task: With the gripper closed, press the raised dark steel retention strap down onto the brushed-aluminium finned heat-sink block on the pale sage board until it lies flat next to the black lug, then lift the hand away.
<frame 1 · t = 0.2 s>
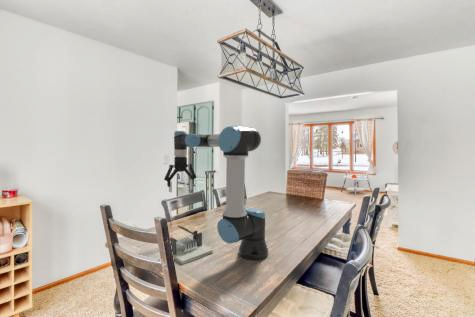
hand: (180, 190, 148), 28 cm above the table, fingers open, 13 cm apart
board: (186, 251, 126), on the table
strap: (189, 231, 127), point 10 cm above the table, hinge at 35.0°
heatsink: (186, 244, 126), on the board, point 4 cm above the table
mounts: (186, 241, 126), on the board, point 5 cm above the table
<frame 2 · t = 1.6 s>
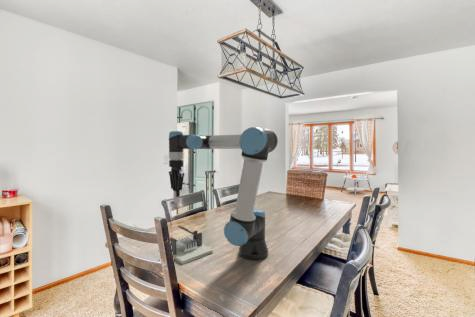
hand: (176, 202, 132), 24 cm above the table, fingers closed
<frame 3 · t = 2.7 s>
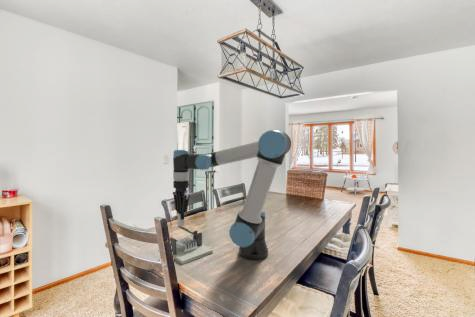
hand: (181, 225, 123), 15 cm above the table, fingers closed
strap: (189, 231, 127), point 10 cm above the table, hinge at 34.9°, touching gripper
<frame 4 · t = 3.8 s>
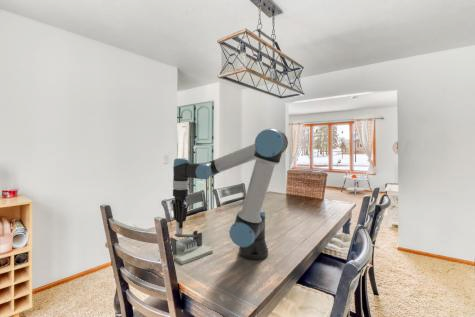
hand: (179, 233, 123), 10 cm above the table, fingers closed
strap: (187, 235, 126), point 8 cm above the table, hinge at 15.5°, touching gripper
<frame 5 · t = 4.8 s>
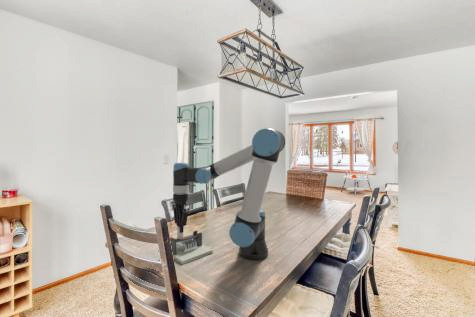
hand: (180, 238, 123), 8 cm above the table, fingers closed
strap: (187, 238, 126), point 7 cm above the table, hinge at 4.6°, touching gripper
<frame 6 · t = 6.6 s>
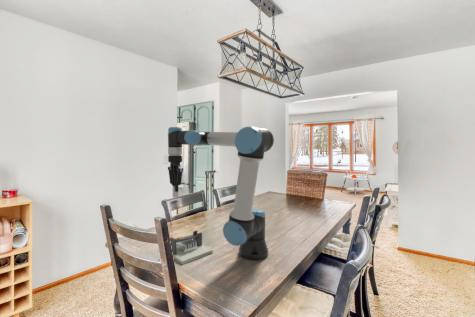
hand: (175, 197, 134), 27 cm above the table, fingers closed
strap: (187, 238, 126), point 7 cm above the table, hinge at 4.6°
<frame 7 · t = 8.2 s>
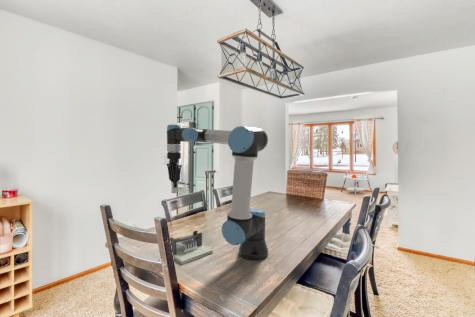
hand: (174, 192, 137), 28 cm above the table, fingers closed
at the end: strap at +5° (first picture: +35°) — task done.
